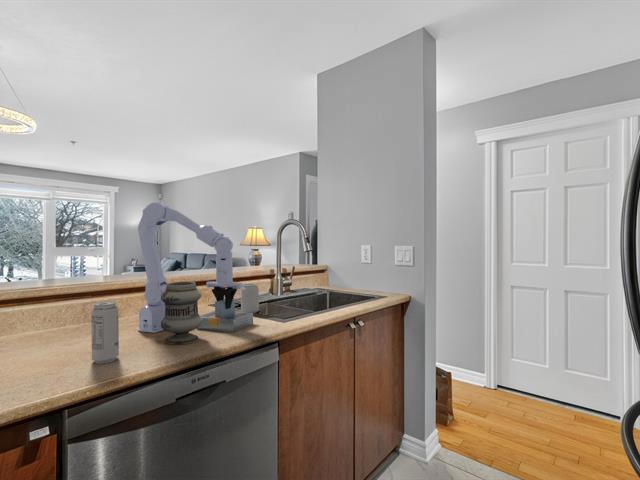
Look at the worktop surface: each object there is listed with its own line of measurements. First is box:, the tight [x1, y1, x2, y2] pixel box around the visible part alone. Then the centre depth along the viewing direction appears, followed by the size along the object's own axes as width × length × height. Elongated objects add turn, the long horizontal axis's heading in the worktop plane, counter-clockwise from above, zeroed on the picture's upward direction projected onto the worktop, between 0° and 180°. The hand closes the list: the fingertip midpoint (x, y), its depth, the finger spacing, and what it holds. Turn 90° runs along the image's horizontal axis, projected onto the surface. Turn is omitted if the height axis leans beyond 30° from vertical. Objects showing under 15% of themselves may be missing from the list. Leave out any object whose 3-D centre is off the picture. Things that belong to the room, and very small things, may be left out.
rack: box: [197, 310, 254, 333], centre depth 125 cm, size 13×16×4 cm
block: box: [214, 297, 236, 318], centre depth 125 cm, size 8×3×6 cm, turn 159°
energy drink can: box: [90, 301, 120, 365], centre depth 91 cm, size 6×6×15 cm
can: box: [240, 283, 260, 314], centre depth 148 cm, size 8×8×12 cm
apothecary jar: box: [161, 280, 202, 346], centre depth 108 cm, size 12×12×18 cm
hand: (224, 307), depth 125 cm, fingers closed on block, 3 cm apart
